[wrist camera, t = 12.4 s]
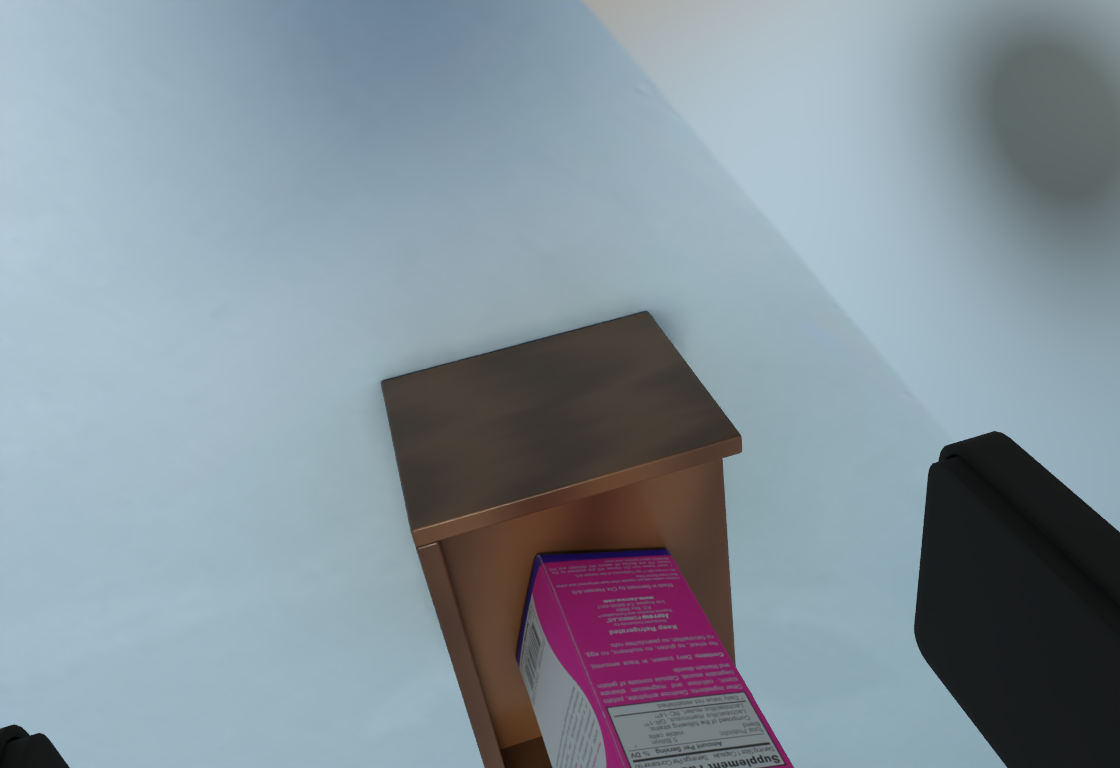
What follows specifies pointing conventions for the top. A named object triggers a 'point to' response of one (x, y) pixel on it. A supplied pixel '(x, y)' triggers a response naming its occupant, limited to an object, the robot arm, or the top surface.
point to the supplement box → (634, 669)
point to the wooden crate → (555, 492)
